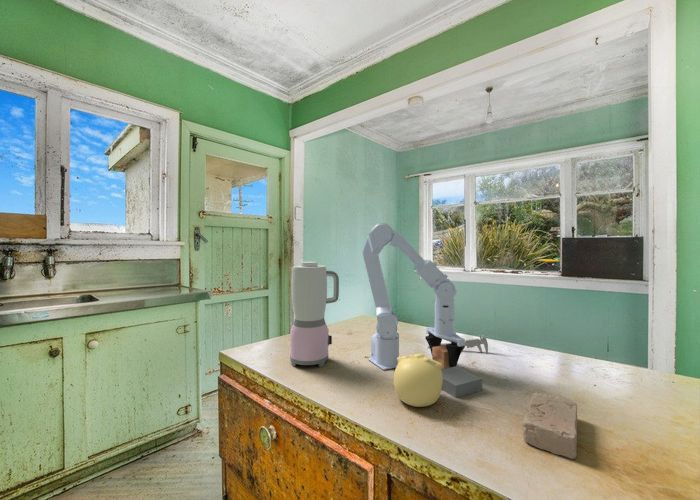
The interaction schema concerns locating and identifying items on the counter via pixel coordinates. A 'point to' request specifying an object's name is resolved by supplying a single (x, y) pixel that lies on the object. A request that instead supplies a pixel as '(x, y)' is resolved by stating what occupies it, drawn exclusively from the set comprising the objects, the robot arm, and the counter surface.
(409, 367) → the sculpture
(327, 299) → the blender
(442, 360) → the block
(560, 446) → the brick
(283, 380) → the counter surface
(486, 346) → the caliper
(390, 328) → the robot arm
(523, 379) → the counter surface
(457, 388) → the base
